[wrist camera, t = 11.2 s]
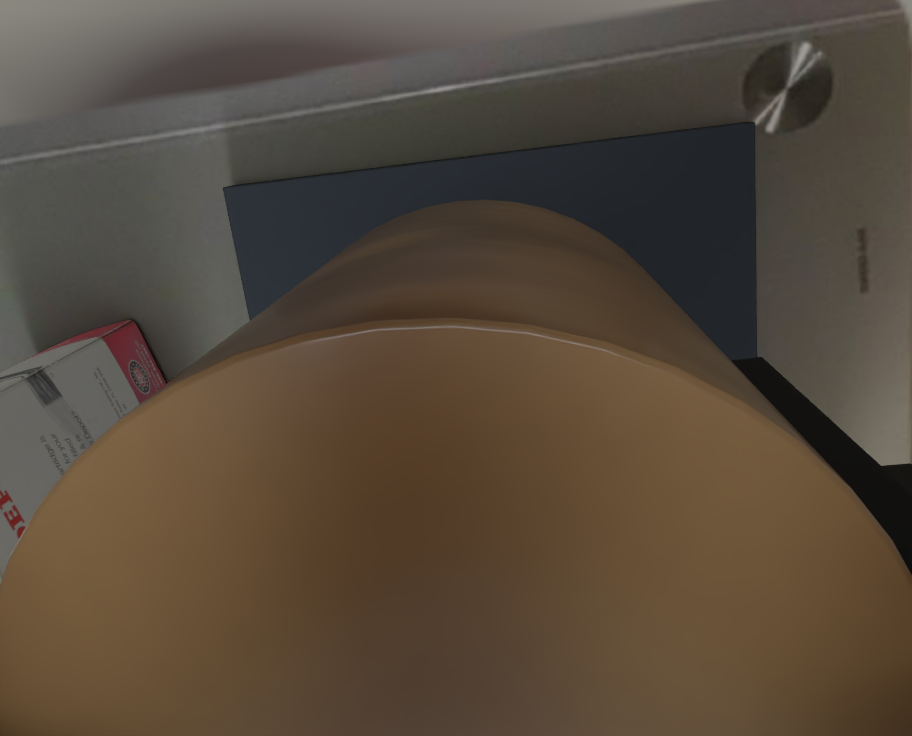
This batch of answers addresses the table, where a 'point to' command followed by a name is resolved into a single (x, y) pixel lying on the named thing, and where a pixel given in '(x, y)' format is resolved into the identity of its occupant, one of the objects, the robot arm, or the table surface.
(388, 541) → the tan round tin
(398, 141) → the table surface
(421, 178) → the mat
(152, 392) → the ink box
